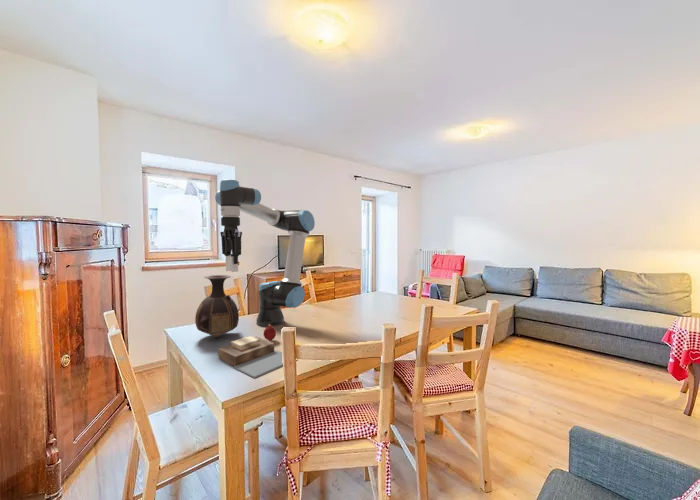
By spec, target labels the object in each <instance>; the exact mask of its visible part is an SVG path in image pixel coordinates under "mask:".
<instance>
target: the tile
mask: <svg viewBox="0 0 700 500" xmlns="http://www.w3.org/2000/svg"><path fill="white" fill-rule="evenodd" d="M255 337H256V336H252V335H249V336H246V337H242V338H238V339H236V340H232V341H230V345H231V347H234V348H236V349H238V350H243V349H246V348H249V347H252V346H255V345H258V344H260V339H257V338H255Z"/></svg>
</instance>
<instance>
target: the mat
mask: <svg viewBox="0 0 700 500" xmlns="http://www.w3.org/2000/svg"><path fill="white" fill-rule="evenodd" d="M281 367H284V366H283V363H282V351H280V350H274V352H272V353H269V354H266V355H264V356H261V357H258V358H256V359H253V360H250V361H248V362H245V363H242V364H240V365H237V366H233V368H234V369H235V370H237V371H239V372H241V373H242V374H245V375H246V376H249V377H251V378H252V379H256V378H258V377H261V376H264V375H265V374H267V373H270V372H272V371H274V370H277V369H279V368H281Z"/></svg>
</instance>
